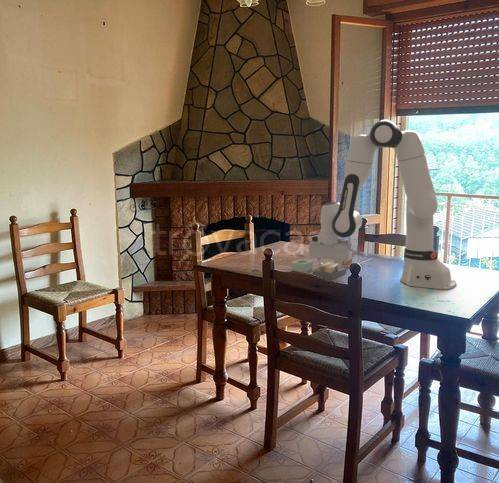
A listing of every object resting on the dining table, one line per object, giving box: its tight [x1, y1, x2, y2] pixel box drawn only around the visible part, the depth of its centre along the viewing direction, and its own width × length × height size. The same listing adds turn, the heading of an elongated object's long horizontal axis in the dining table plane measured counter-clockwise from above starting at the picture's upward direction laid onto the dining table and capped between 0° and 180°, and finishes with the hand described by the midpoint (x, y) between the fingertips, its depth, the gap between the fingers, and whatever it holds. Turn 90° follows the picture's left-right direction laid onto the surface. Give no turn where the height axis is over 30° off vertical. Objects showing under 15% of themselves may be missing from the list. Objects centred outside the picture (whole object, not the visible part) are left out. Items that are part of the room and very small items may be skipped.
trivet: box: [312, 268, 347, 281], centre depth 235 cm, size 10×13×2 cm
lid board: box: [317, 261, 341, 273], centre depth 234 cm, size 6×10×2 cm, turn 144°
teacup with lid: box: [333, 247, 355, 269], centre depth 250 cm, size 12×9×12 cm
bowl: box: [291, 258, 314, 274], centre depth 242 cm, size 7×7×4 cm
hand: (329, 268), depth 234 cm, fingers closed on lid board, 6 cm apart
